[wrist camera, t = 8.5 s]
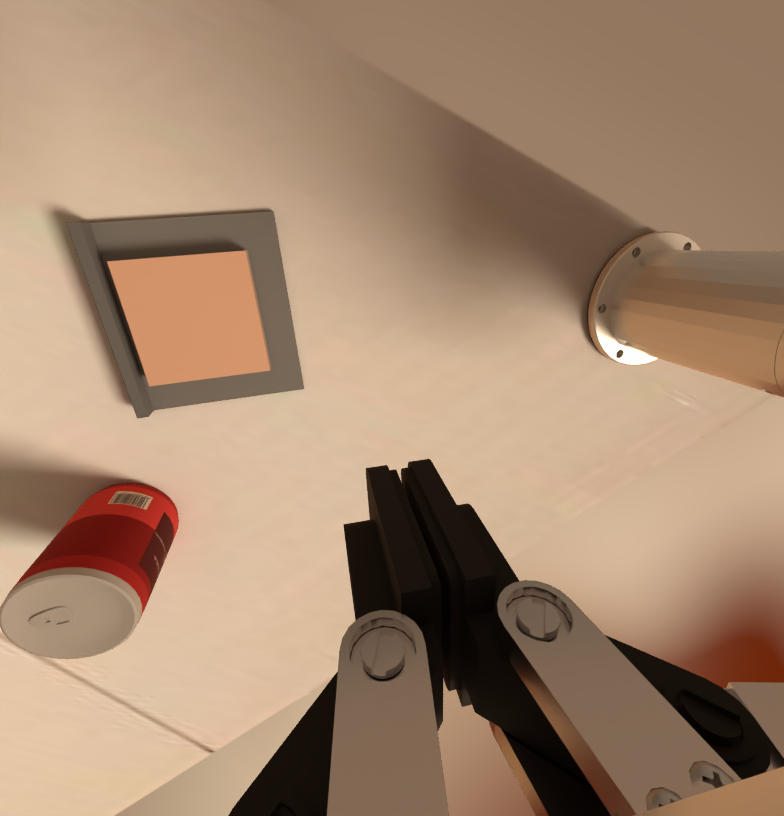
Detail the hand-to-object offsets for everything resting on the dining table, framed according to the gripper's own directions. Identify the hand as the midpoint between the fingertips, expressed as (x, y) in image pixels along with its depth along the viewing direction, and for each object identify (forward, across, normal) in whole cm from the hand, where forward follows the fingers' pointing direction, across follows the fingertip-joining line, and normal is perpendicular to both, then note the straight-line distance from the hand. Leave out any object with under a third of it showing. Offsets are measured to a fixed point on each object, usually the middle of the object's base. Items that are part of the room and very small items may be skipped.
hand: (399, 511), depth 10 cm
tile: (+24, +6, -2) cm, 25 cm away
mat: (+25, +10, -2) cm, 27 cm away
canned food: (+25, +20, +16) cm, 36 cm away
